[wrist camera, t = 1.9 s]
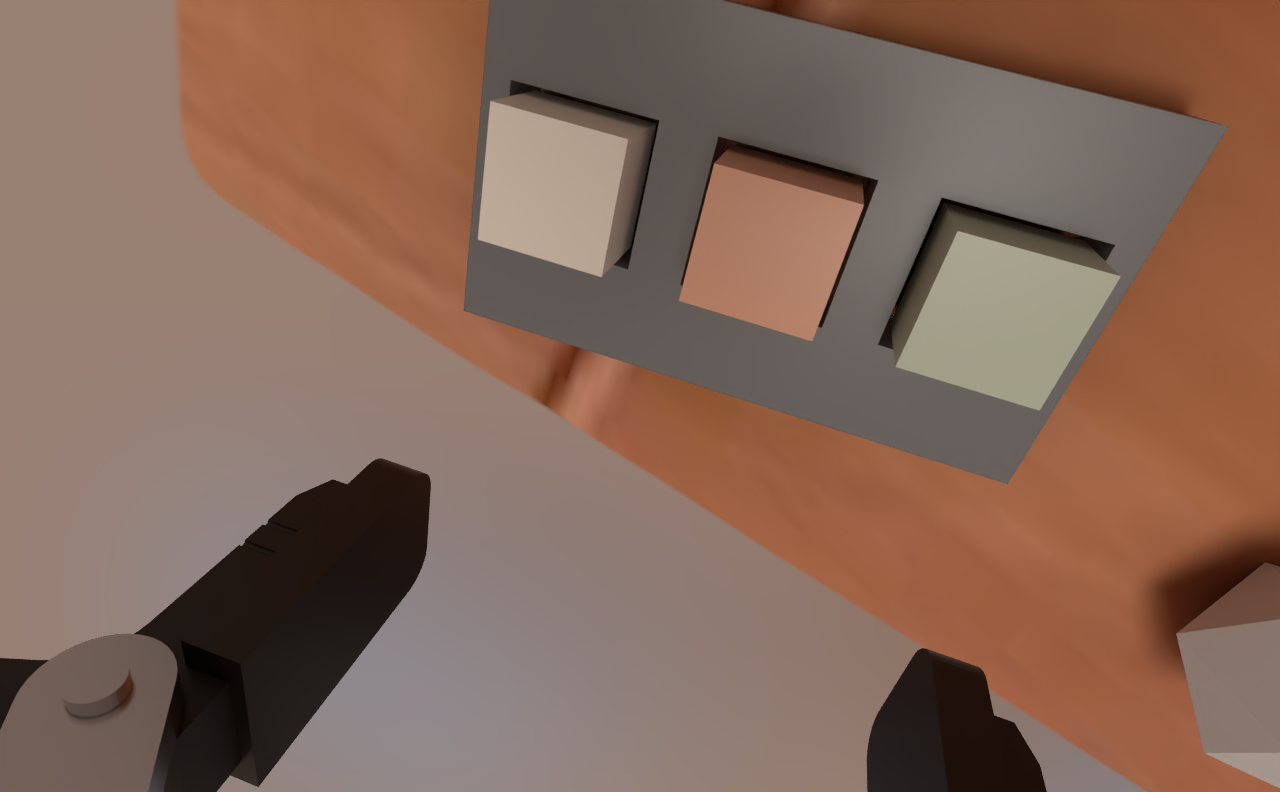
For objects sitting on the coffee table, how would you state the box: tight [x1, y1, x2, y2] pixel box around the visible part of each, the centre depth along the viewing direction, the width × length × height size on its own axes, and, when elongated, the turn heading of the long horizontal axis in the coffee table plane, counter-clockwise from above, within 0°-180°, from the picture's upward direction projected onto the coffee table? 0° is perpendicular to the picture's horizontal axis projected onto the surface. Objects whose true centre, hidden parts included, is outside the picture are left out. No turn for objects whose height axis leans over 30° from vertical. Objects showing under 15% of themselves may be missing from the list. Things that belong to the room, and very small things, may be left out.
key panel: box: [464, 0, 1228, 484], centre depth 27 cm, size 14×24×3 cm, turn 78°
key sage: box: [890, 202, 1121, 411], centre depth 25 cm, size 5×5×4 cm
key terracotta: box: [679, 144, 864, 341], centre depth 26 cm, size 5×5×4 cm
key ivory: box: [478, 90, 657, 277], centre depth 27 cm, size 5×5×4 cm
